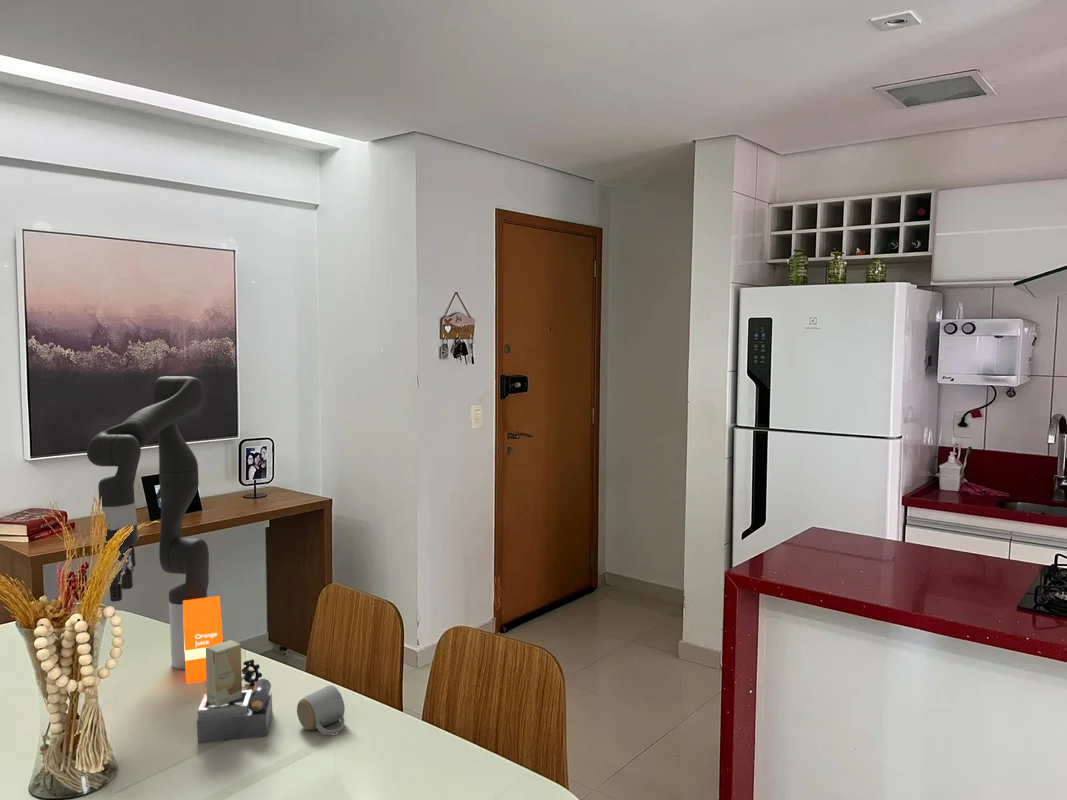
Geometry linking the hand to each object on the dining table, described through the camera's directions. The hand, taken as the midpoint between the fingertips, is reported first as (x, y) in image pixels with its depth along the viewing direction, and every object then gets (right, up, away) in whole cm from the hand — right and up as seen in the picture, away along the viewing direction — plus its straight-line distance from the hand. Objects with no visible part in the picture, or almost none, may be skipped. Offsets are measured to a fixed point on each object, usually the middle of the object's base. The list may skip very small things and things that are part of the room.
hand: (122, 594), depth 183 cm
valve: (+20, -27, +13) cm, 36 cm away
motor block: (+27, -28, -4) cm, 39 cm away
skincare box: (+25, -22, -5) cm, 34 cm away
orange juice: (+9, -26, +24) cm, 36 cm away
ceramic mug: (+46, -29, -3) cm, 55 cm away
